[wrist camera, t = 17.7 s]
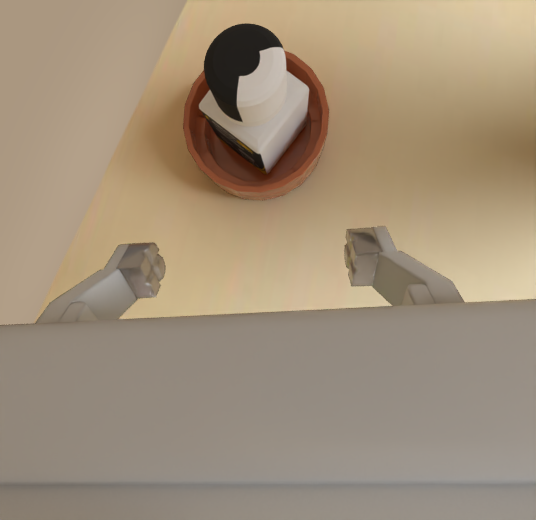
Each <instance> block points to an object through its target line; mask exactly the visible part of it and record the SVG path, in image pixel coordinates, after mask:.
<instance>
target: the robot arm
mask: <svg viewBox="0 0 536 520" xmlns="http://www.w3.org/2000/svg"><path fill="white" fill-rule="evenodd" d="M346 241H347V244H346V245H345V249H344V258H345V264H346V267H347V268H348V269H349V272H348V276H349V280H350V283H351V286H372V287H373V288H374V289H375V290H376V291H377V292H378V293H380V294H381V295H382V296H383V297H384V298H385V299H386V300H387V301H388V302H389V303H390V304H391V305H392V306H383V307H363V308H344V309H323V310H302V311H281V312H260V313H240V314H220V315H200V316H180V317H159V318H138V319H118V318H119V317H120V316H121V315H122V314H123V313H124V312H125V311H126V310H127V309H128V308H129V307H130V306H131V305H132V304H133V303H134V302H135V301H136V300H137V299H138V298H150V297H156V296H157V294H158V291H159V288H160V286H161V285H160V283H159V281H160V280H162V279H163V278H164V275H165V268H166V266H165V262H164V259H163V257H161V256H160V255H159V254H158V251H159V248H158V247H157V245H156V244H155V243H132V244H121V245H118V246H117V248H116V250H115V251H114V253H113V255H112V256H111V258H110V260H109V261H108V263H107V264H106V266H105V268H104V269H103V270H99V271H97V272H96V273H94V274H93V275H91V276H90V277H88V278H87V279H85V280H84V281H82V282H81V283H79V284H78V285H76V286H75V287H73V288H72V289H70V290H68V291H67V292H65V293H64V294H62V295H61V296H59V297H58V298H56V299H55V300H53V301H52V302H50V303H49V305H48V306H47V307H46V309H45V310H44V312H43V313H42V314H41V316H40V317H39V319H38V320H37V321H36V323H35V324H15V325H0V520H536V299H526V300H506V301H486V302H464V300H463V299H462V297H461V295H460V294H459V292H458V290H457V289H456V287H455V285H454V284H453V282H452V281H451V280H449V279H447V278H446V277H444V276H442V275H441V274H439V273H437V272H436V271H434V270H432V269H431V268H429V267H427V266H426V265H424V264H422V263H421V262H419V261H417V260H415V259H414V258H412V257H410V256H409V255H407V254H405V253H404V252H402V251H397V249H396V247H395V245H394V243H393V241H392V239H391V237H390V235H389V232H388V230H387V228H386V227H385V226H377V227H371V228H357V229H347V231H346ZM117 319H118V320H117Z"/></svg>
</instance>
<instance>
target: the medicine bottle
mask: <svg viewBox="0 0 536 520" xmlns="http://www.w3.org/2000/svg"><path fill="white" fill-rule="evenodd" d="M204 74H205V79H206V82H207V84H208V86H209V88H210V90H209V91H208V93H207V94H206V95H205V97H204V98H203V99H202V101H201V102H200V104H199V109H200V110H201V112H202V113H203V115H204V117H205V118H206V120H207V121H208V123H209V125H210V126H211V128H212V129H213V131H214V132H215V134H216V136H217V137H218V139H220V140H221V141H222V142H223V143H225V144H226V145H227V146H229V147H230V148H231V149H232V150H234V151H235V152H236V153H238V154H239V155H240V156H241V157H243V158H244V159H245V160H247V161H248V162H249V163H251V164H252V165H253V166H254V167H256V168H257V169H258V170H260V171H261V172H262V173H263V174H268V173H269V172H270V171H271V169H272V168H273V167H274V166H275V164H276V163H277V162H278V160H279V159H280V158H281V157H282V155H283V154H284V153H285V151H286V150H287V149H288V148H289V146H290V145H291V144H292V142H293V141H294V140H295V139H296V137H297V136H298V135H299V133H300V132H301V131H302V130H303V128H304V127H305V126H306V121H307V109H308V97H309V88H308V86H307V85H306V84H304V83H303V82H302V81H300V80H299V79H297V78H296V77H295V76H293V75H292V74H291V73H289V72H288V71H287V70H286V57H285V52H284V49H283V47H282V44H281V43H280V41H279V39H278V38H277V37H276V36H275V35H274V34H273V33H272V32H271V31H269V30H268V29H266V28H264V27H262V26H259V25H255V24H238V25H235V26H232V27H230V28H228V29H226V30H224V31H223V32H222V33H220V34H219V35H218V36H217V37H216V38H215V39H214V40H213V42H212V43H211V45H210V47H209V49H208V50H207V53H206V56H205V61H204Z"/></svg>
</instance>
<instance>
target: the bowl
mask: <svg viewBox="0 0 536 520" xmlns="http://www.w3.org/2000/svg"><path fill="white" fill-rule="evenodd" d="M284 52H285V57H286V70H287V71H288V72H289V73H291V74H292V75H293V76H295V77H296V78H297V79H299V80H300V81H302V82H303V83H304V84H306V85H307V86H308V88H309V97H308V109H307V121H306V126H305V127H304V128H303V130H302V131H301V132H300V133H299V135H298V136H297V137H296V139H295V140H294V141H293V142H292V144H291V145H290V146H289V148H288V149H287V150H286V151H285V153H284V154H283V155H282V157H281V158H280V159H279V160H278V162H277V163H276V164H275V166H274V167H273V168H272V169H271V171H270V172H269V173H268V174H263V173H262V172H261V171H260V170H258V169H257V168H256V167H254V166H253V165H252V164H251V163H249V162H248V161H247V160H245V159H244V158H243V157H241V156H240V155H239V154H238V153H236V152H235V151H234V150H232V149H231V148H230V147H229V146H227V145H226V144H225V143H223V142H222V141H221V140H220V139H218V137H217V136H216V134H215V132H214V131H213V129H212V128H211V126H210V125H209V123H208V121H207V120H206V118H205V117H204V115H203V113H202V112H201V110H200V109H199V104H200V102H201V101H202V99H203V98H204V97H205V95H206V94H207V93H208V91H209V90H210V88H209V86H208V84H207V82H206V79H205V74H204V71H203V72H202V73H201V75H200V76H199V77H198V78H197V80H196V81H195V82H194V84H193V86H192V88H191V91H190V93H189V96H188V99H187V101H186V104H185V111H184V123H183V129H184V134H185V138H186V142H187V146H188V149H189V152H190V153H191V155H192V157H193V158H194V160H195V162H196V163H197V165H198V167H199V168H200V169H201V170H202V171H203V172H204V173H205V174H206V175H207V176H208V177H209V178H210V179H211V180H212V181H214V182H215V183H216V184H217V185H218V186H219V187H221V188H222V189H223V190H224V191H226V192H228V193H230V194H233V195H235V196H238V197H240V198H243V199H252V200H267V199H271V198H275V197H279V196H283V195H285V194H287V193H288V192H290V191H292V190H293V189H295V188H296V187H298V186H299V185H301V184H302V183H303V182H304V181H305V180H306V178H307V177H308V176H309V175H310V174H311V173H312V171H313V170H314V169H315V167H316V165H317V163H318V160H319V158H320V156H321V153H322V151H323V148H324V144H325V140H326V136H327V129H328V117H329V108H328V104H327V100H326V96H325V92H324V88H323V86H322V84H321V83H320V81H319V80H318V78H317V77H316V75H315V73H314V72H313V70H312V69H311V68H310V67H309V66H308V65H307V64H305V63H304V62H303V61H302V60H300V59H299V58H298V57H297V56H295V55H294V54H292V53H289V52H287V51H284Z"/></svg>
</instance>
